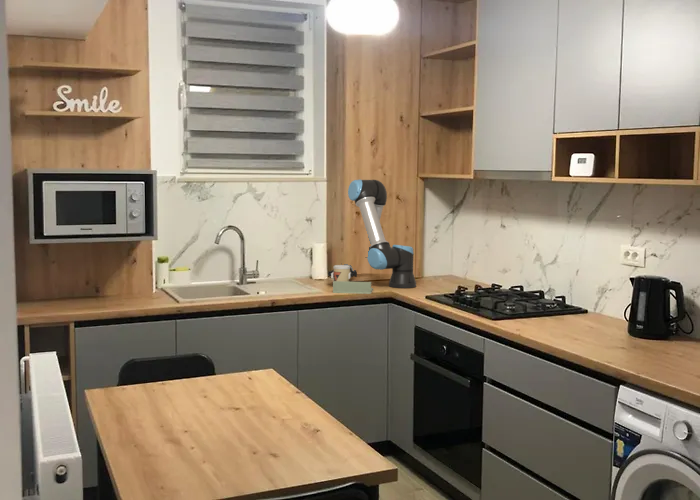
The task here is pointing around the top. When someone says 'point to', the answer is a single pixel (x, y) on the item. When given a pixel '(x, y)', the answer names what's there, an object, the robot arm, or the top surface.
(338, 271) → the coffee cup
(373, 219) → the robot arm
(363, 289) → the green rectangular box
